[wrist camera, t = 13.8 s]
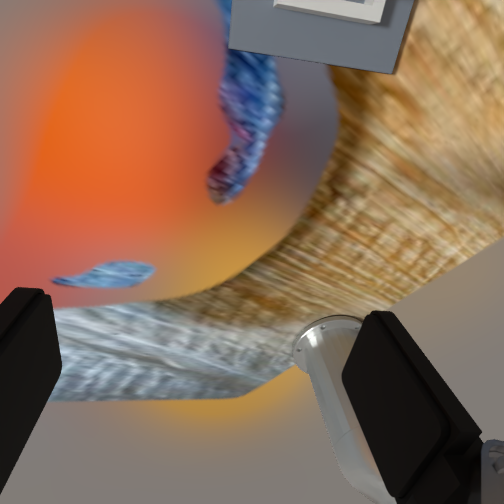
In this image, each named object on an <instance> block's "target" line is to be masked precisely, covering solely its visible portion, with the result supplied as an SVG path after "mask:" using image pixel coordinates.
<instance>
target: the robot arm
mask: <svg viewBox="0 0 504 504" xmlns="http://www.w3.org/2000/svg"><path fill="white" fill-rule="evenodd" d="M292 353H293V358H294V361H295V364H296V365H297V366H298V367H299V368H300V369H301V370H302V371H304V372H305V373H308V374H309V376H310V379H311V382H312V385H313V389H314V392H315V395H316V398H317V401H318V404H319V407H320V410H321V413H322V416H323V419H324V422H325V426H326V429H327V432H328V435H329V438H330V441H331V444H332V447H333V450H334V454H335V456H336V459H337V462H338V465H339V468H340V470H341V472H342V474H343V475H344V477H345V478H346V479H347V481H348V482H349V483H350V484H351V485H352V486H353V487H354V488H355V489H356V490H358V491H359V492H360V493H361V494H363V495H364V496H365V497H367V498H368V499H369V500H371V501H372V502H374V503H375V504H504V441H500V440H495V439H493V440H487V441H486V442H485V443H483V442H482V440H481V439H480V438H479V435H480V434H481V433H482V431H481V430H480V428H479V427H478V426H477V424H476V423H475V422H474V420H473V419H472V417H471V416H470V415H469V413H468V412H467V411H466V409H465V408H464V407H463V406H462V404H461V403H460V402H459V400H458V399H457V397H456V396H455V395H454V393H453V392H452V391H451V389H450V388H449V387H448V385H447V384H446V383H445V381H444V380H443V379H442V377H441V376H440V375H439V373H438V372H437V371H436V369H435V368H434V367H433V365H432V364H431V363H430V361H429V360H428V359H427V357H426V356H425V355H424V353H423V352H422V350H421V349H420V348H419V346H418V345H417V344H416V342H415V341H414V340H413V339H412V337H411V336H410V334H409V333H408V332H407V330H406V329H405V328H404V326H403V325H402V324H401V322H400V321H399V320H398V318H397V317H396V316H395V314H394V313H392V312H390V311H376V310H375V311H372V312H371V313H370V315H367V316H366V317H365V319H364V321H363V323H362V322H360V321H359V320H357V319H355V318H352V317H347V316H333V317H327V318H324V319H321V320H318V321H316V322H314V323H312V324H311V325H309V326H308V327H306V328H305V329H304V330H303V331H302V332H301V333H300V334H299V335H298V336H297V338H296V340H295V341H294V344H293V349H292ZM61 370H62V360H61V354H60V348H59V342H58V336H57V330H56V324H55V318H54V312H53V306H52V300H51V296H50V295H47V294H45V293H44V291H43V290H42V289H39V288H22V287H18V288H15V289H14V290H13V291H12V292H11V293H10V294H9V295H8V296H7V297H6V299H5V300H4V301H3V302H2V303H1V304H0V494H1V492H2V490H3V488H4V486H5V484H6V482H7V480H8V478H9V476H10V474H11V472H12V470H13V468H14V466H15V464H16V462H17V460H18V458H19V456H20V454H21V452H22V450H23V448H24V446H25V444H26V442H27V440H28V438H29V436H30V434H31V432H32V430H33V428H34V426H35V424H36V422H37V420H38V418H39V417H40V414H41V412H42V411H43V408H44V407H45V405H46V403H47V401H48V399H49V397H50V395H51V393H52V391H53V389H54V387H55V385H56V383H57V381H58V379H59V376H60V374H61Z"/></svg>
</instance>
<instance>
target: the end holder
mask: <svg viewBox="0 0 504 504" xmlns="http://www.w3.org/2000/svg"><path fill="white" fill-rule="evenodd" d="M413 2H414V0H232V8H231V21H230V34H229V46H228V49H234V50H240V51H247V52H253V53H259V54H266V55H272V56H278V57H285V58H291V59H297V60H304V61H311V62H316V63H323V64H329V65H335V66H342V67H348V68H355V69H361V70H367V71H374V72H380V73H386V74H392V71H393V68H394V64H395V61H396V58H397V54H398V51H399V48H400V45H401V41H402V38H403V35H404V31H405V28H406V25H407V22H408V18H409V15H410V12H411V8H412V5H413Z"/></svg>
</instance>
